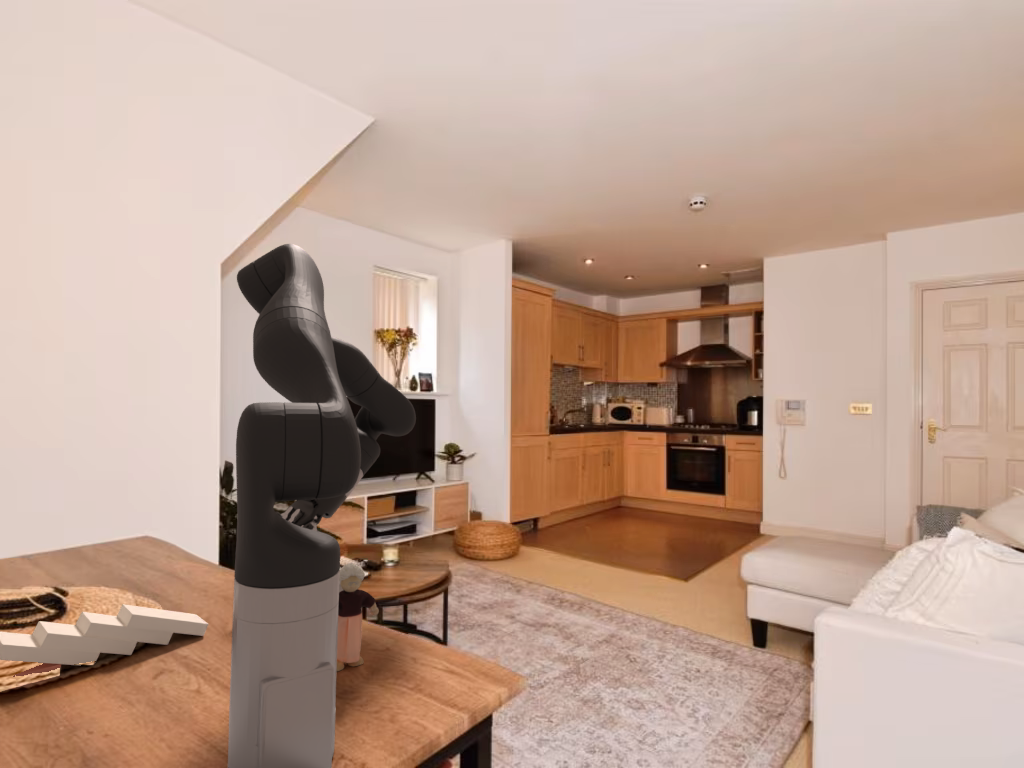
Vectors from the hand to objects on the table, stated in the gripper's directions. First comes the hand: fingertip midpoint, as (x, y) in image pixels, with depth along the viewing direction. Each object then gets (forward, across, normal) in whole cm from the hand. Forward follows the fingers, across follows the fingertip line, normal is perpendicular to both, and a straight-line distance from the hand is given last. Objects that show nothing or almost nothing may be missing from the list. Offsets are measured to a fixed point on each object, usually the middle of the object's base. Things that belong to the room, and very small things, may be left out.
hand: (255, 570), depth 87 cm
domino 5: (+10, -1, +2) cm, 10 cm away
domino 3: (+16, -1, +8) cm, 18 cm away
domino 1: (+19, -1, +11) cm, 22 cm away
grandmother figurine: (+4, -25, -6) cm, 26 cm away
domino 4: (+13, 0, +5) cm, 14 cm away
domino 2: (+21, -1, +13) cm, 25 cm away
